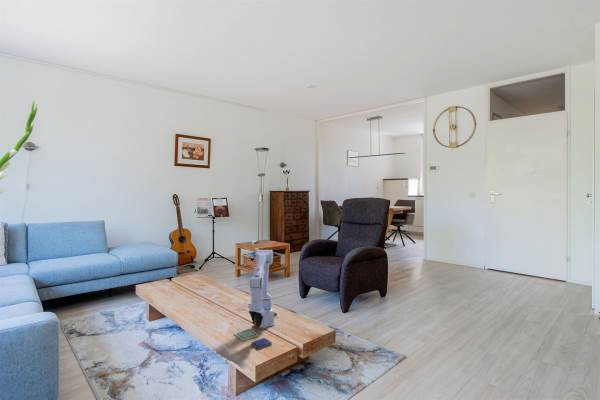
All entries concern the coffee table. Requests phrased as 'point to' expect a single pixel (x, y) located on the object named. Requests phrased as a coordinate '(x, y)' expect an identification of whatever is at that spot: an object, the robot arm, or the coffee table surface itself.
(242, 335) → the board
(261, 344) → the ink pad
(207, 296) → the coffee table surface
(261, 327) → the stamp
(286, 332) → the coffee table surface
